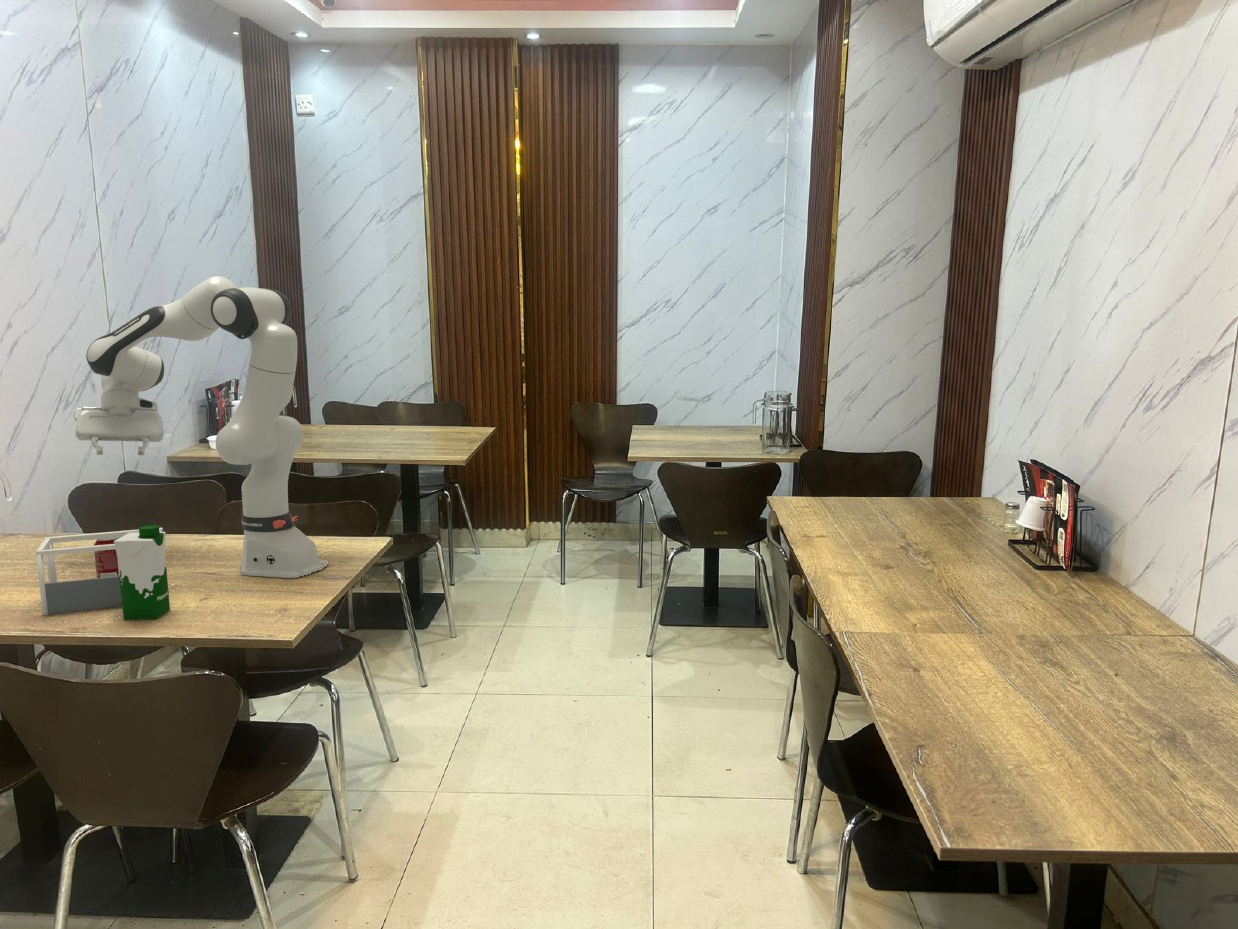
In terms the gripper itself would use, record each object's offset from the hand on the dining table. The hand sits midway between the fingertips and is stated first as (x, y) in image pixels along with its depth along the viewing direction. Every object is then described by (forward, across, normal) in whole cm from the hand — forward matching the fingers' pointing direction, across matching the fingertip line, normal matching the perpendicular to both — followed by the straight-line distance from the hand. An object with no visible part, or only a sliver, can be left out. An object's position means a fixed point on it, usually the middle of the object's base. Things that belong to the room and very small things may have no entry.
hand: (120, 454), depth 239 cm
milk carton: (+51, +4, -18) cm, 54 cm away
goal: (+42, -3, -5) cm, 42 cm away
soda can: (+34, -2, +5) cm, 34 cm away
